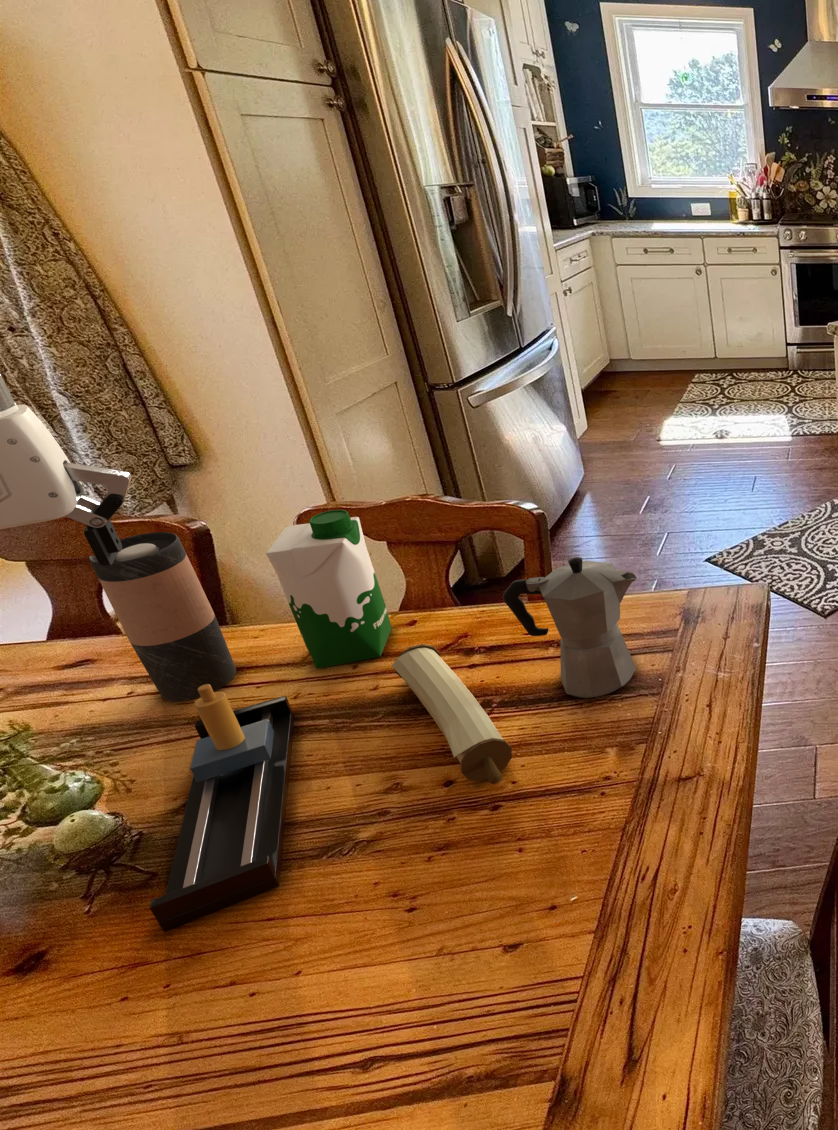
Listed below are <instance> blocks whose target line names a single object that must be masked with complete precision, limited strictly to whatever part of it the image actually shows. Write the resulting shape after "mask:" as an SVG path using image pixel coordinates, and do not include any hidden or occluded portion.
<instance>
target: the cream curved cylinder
mask: <svg viewBox="0 0 838 1130" xmlns="http://www.w3.org/2000/svg"><path fill="white" fill-rule="evenodd" d="M391 667H392V668H393V670H395V674H397V675H398V676H399V677H400V678H401V679H402V680H403V681H404V682H405V683H406V685H407V686H408V687H409V688H410V689H411V690H412V692H413V694H414V695H415V696H416V697H417V698H418V700H419V701H420V702H421V704H422V705H423V707H424V708H425V709H426V711H427V712H428V714H429V715H430V716H431V717H432V719H433V721H434V722H435V723H436V725H437V727H438V728H439V730H440V731H441V733H442V734H443V736H444V738H445V739H446V741H447V743H448V746H449V748H450V751H451V754H452V757H453V758H457V760H458V762H459V763H460V772H461V774H462V775H463V776H464V777H465V778H466V779H467V780H468V781H474V782H475V781H476V782H482V781H485V780H487V781H488V783H490V784H491V785H496V784H498V783H499V782H501V780H502V773H501V772H503V771H504V770H505V769H506V768H507V766H508V765H509V763H510V761H511V760H512V757H513V755H512V753H513V749H512V746H511V745H510V744H509V743H508V742H507V741H506V740H505V739H504V738H503V736H502V735H501V733H500V732H499V730H498V729H497V727H496V726H495V724H494V722H493V720H492V719H491V718H490V716H489V715H488V713H487V712H486V711H485V709H484V708H483V707H482V706H481V704H480V702H479V701H478V700H477V699H476V697H475V696H474V695H473V693H472V692H471V691H470V690H469V689H468V687H467V686H466V684H464V683H463V681H462V680H461V678H460V677H459V676H458V675H457V674H456V673H455V671H454V670H453V669H452V668H451V667H450V665H448V664H447V663H446V661H444V660H443V659H442V657H441V652H440V651H439V650H438V649H437V648H436V647H435V646H434V645H430V644H425V643H421V644H417V645H412V646H410V647H408V648H406V649H405V650H403V651H401V652H400V654H399V655H398V656H397V658H396V659H395V661H394V662H393V663H392V664H391Z"/></svg>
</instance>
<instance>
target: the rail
mask: <svg viewBox="0 0 838 1130" xmlns="http://www.w3.org/2000/svg"><path fill="white" fill-rule="evenodd" d="M233 712H234V714H235V716H236V719H237V721H238V723H239V725H240V727H242V726H246V725H249V724H252V723H256V722H259V721H262V720H266V719H268V720H269V722H270V724H271V726H272V728H273V731H274V736H273V744H272V753H271V759H269V760H265V761H262V762H259V763H256V764H253V765H250V766H247V767H244V768H241V769H238V770H235V771H231V772H228V773H225V774H222V775H219V776H216V777H213V778H210V779H207V780H204V781H201V782H197V781H196V779H195V777H194V775H193V774H192V779H191V784H190V788H189V792H188V797H187V800H186V805H185V808H184V813H183V817H182V822H181V826H180V830H179V835H178V839H177V843H176V848H175V852H174V855H173V860H172V864H171V869H170V874H169V877H168V882H167V887H166V891H165V894H163V895H161V896H158V897H155V898H153V899H151V900H150V904H149V911H150V912H151V914H152V915H153V916H154V918H155V920H156V921H157V923H158V925H159V926H160V928H161V929H162V931H163V932H167V931H170V930H172V929H175V928H177V927H180V926H183V925H185V924H187V923H190V922H192V921H195V920H197V919H201V918H203V917H205V916H208V915H210V914H213V913H215V912H218V911H221V910H222V909H225V908H227V907H230V906H233V905H236V904H238V903H241V902H243V901H246V900H248V899H250V898H254V897H257V896H259V895H261V894H264V893H266V892H269V891H271V890H274V889H276V888H279V887H280V883H281V872H282V871H281V870H282V859H283V848H284V838H285V825H286V817H287V816H286V815H287V803H288V793H289V781H290V771H291V770H290V769H291V759H292V747H293V738H294V737H293V736H294V725H295V714H294V712H293V709H292V707H291V704H290V702H289V699H288V697H287V695H283V696H279V697H276V698H271V699H268V700H266V701H262V702H258V703H255V704H251V705H249V706H248V705H247V706H244V707H242V708H238V709H234V710H233ZM194 729H195V730H196V732H197V734H198V736H199V739H202V738H206V737H209V734H208V732H207V730H206V728H205V726H204V723H203V721H202V719H200V720H197V721H195V724H194Z"/></svg>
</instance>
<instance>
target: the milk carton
mask: <svg viewBox="0 0 838 1130" xmlns="http://www.w3.org/2000/svg"><path fill="white" fill-rule="evenodd" d="M308 521H309V522H308V523H300V524H294V525H287V526H285V528H284V529H283V530H282V532H281V533H280V534H279V535H278V537H276V539H275V541H274V542H273V543H272V544H271V545H270V547H269V548H268V550H267V551H266V552H265V555H266V556H267V558H268V560H269V562H270V564H271V566H272V568H273V570H274V572H275V573H276V575H277V578H278V580H279V583H280V586H281V588H282V590H283V594H284V596H285V598H286V600H287V603H288V605H289V608H290V610H291V613H292V616H293V618H294V621H295V623H296V625H297V628H298V630H299V633H300V636H301V638H302V640H303V642H304V645H305V646H306V649H307V651H308V654H309V655H310V658H311V660H312V663H313V665H314V667H315V669H317V670H318V669H323V668H328V667H334V666H339V665H346V664H350V663H355V662H360V661H366V660H371V659H377V658H381V656H382V654H383V651H384V648H385V647H386V645H387V641H388V639H389V637H390V634H391V631H392V629H393V628H392V624H391V621H390V616H389V612H388V608H387V605H386V602H385V599H384V596H383V593H382V591H381V587H380V584H379V581H378V579H377V575H376V571H375V568H374V566H373V562H372V561H371V560H372V559H371V557H370V553H369V551H368V548H367V544H366V541H365V536H364V533H363V529H362V524H361V520H360V517H359V516H352V517H350V513H349V511H347V510H345V509H332V510H326V511H323V512H320V513H317V514H315V515H313V516H312V517H310V518H309V520H308Z"/></svg>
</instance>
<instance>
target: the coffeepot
mask: <svg viewBox="0 0 838 1130" xmlns="http://www.w3.org/2000/svg"><path fill="white" fill-rule="evenodd" d="M567 563H568V565H564V566H560V567H557V568H555V569H554V570H552V571H551V572H550V573H548V574H547V575H546V576H545V577H544V576H540V577H529V578H528V579H517V580H513V581H512V582H511V583H510V584H509V586H508V587H507V588H506V590H504V592H503V595H502V599H503V602H504V603H505V605H506V606H507V607H508V608H509V609H510V611H511V612H512V614H513V615H514V616H515V618H516V619H517V620H518V621H519V623H520V624H521V625H522V627H523V628H524V629H525V631H526V633H527V634H528V635H529V636H530V637H543V636H547V635H548V634H549V633H548V632H549V628H548V627H545V628H543V627H542V628H541V627H538V626H537V625H536V622H535V619H534V616H533V615H532V614H531V613H530V612H528V610H527V607H526V605H525V603H524V601H523V600H522V599H521V597H520V595H542V598H543V599H544V602H545V604H546V606H547V609H548V612H549V613H550V615H551V618H552V621H553V622H554V623H553V624H554V625H555V627H556V630H557V632H558V634H559V636H560V638H561V639H560V640H559V641H560V643H559V645H560V680H561V684H562V686H563V689H564V691H565V693H566V695H569V696H572V697H576V698H583V699H589V698H590V699H591V698H598V697H602V696H605V695H609V694H610V693H613V692H615V691H617V690H619V689H621V688H622V687H624V686H625V685H626V684H627V683H628V682H629V681H630V680H631V679H632V677H633V675H634V673H635V672H636V671H637V667H636V665H635V663H634V659H633V657H632V655H631V653H630V651H629V648H628V646H627V643H626V641H625V639H624V635H623V634H622V633H623V632H622V631H621V629H620V627H619V621H620V620H621V603H622V601H623V599H624V597H625V595H626V593H627V591H628V589H629V588H630V586H631V585H632V583H634V582H635V581H637V580H638V577H637V575H636V574H635V573H634V572H630V571H628V570H622V569H621V570H620V569H616V567H615V565H614V564H613V562H604V561H595V560H588V559H587V560H583V557H581V556H574V557H571V558H569V559H568V560H567Z"/></svg>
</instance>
